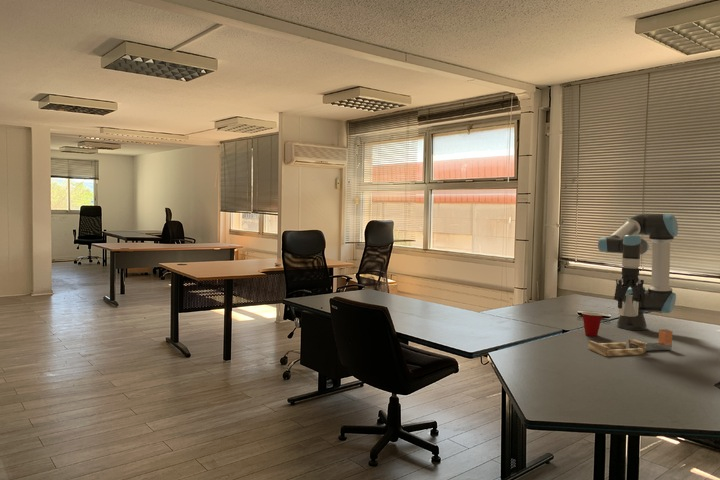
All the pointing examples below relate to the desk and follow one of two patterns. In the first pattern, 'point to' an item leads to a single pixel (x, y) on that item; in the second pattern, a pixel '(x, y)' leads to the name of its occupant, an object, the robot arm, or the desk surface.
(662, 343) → the grey orange angled block
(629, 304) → the flask
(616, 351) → the wooden tray
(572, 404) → the desk surface
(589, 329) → the plastic cup
